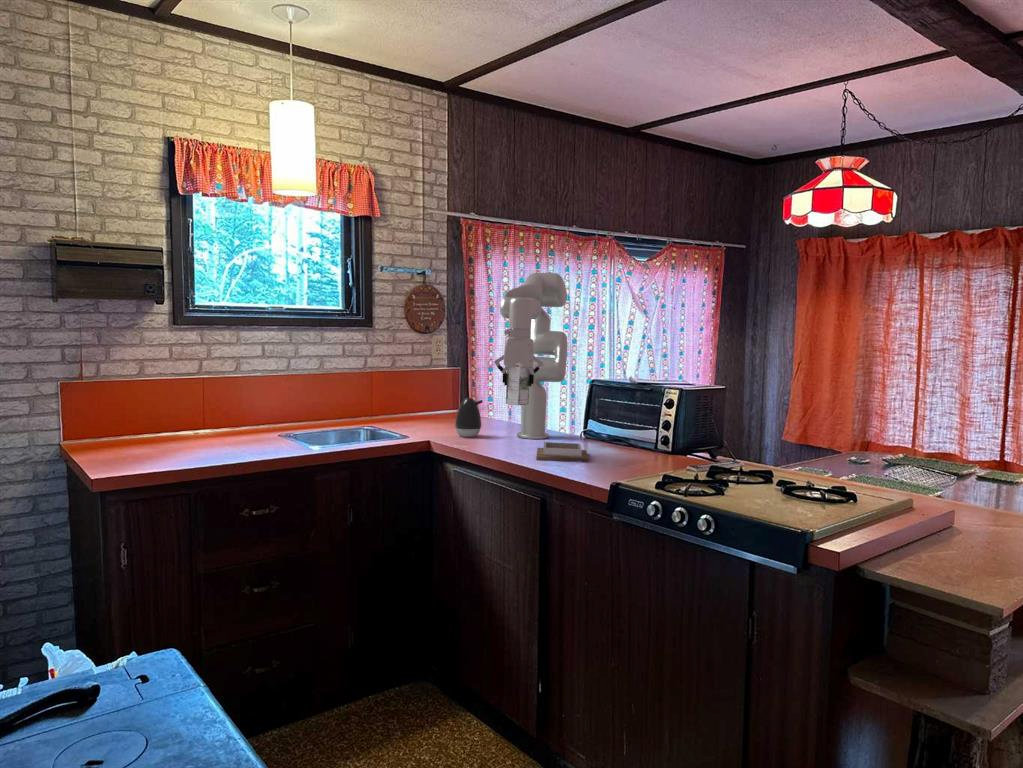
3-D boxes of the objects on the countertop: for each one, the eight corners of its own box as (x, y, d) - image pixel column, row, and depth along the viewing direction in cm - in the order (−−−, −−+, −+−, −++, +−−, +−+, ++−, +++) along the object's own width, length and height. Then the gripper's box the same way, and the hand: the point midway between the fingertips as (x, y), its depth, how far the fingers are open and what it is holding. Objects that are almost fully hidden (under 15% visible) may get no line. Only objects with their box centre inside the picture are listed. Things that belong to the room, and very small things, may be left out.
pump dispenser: (480, 439, 283) (482, 399, 281) (453, 437, 283) (454, 398, 281) (482, 435, 293) (483, 396, 291) (456, 434, 293) (457, 395, 292)
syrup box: (515, 403, 258) (517, 361, 256) (529, 404, 254) (530, 362, 253) (505, 404, 253) (506, 361, 252) (518, 405, 250) (520, 363, 248)
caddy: (537, 451, 260) (537, 440, 260) (586, 453, 259) (586, 442, 259) (536, 459, 243) (536, 448, 243) (588, 462, 242) (588, 451, 242)
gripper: (493, 333, 248) (491, 385, 250) (545, 335, 247) (543, 387, 249) (495, 333, 256) (493, 383, 257) (545, 334, 255) (543, 385, 256)
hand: (517, 385), depth 253 cm, fingers closed on syrup box, 8 cm apart
